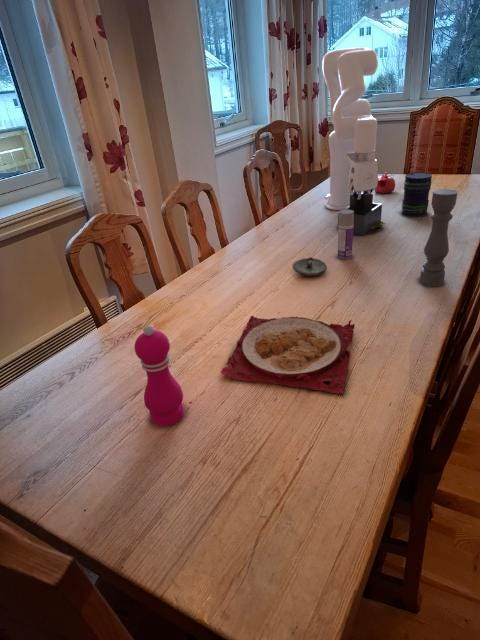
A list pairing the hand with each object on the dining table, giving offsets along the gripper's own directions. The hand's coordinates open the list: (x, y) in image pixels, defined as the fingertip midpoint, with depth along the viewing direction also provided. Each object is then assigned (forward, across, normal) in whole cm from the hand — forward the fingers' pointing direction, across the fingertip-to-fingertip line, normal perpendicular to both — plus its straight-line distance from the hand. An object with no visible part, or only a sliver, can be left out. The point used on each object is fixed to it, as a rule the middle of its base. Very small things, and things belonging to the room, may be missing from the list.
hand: (361, 208), depth 160 cm
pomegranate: (+8, +43, +32) cm, 54 cm away
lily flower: (+7, +4, -1) cm, 8 cm away
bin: (+8, 0, 0) cm, 8 cm away
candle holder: (+8, -16, -48) cm, 51 cm away
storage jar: (+8, +27, -1) cm, 28 cm away
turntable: (+8, 0, 0) cm, 8 cm away
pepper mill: (+8, -98, -58) cm, 115 cm away
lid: (+8, -38, -21) cm, 44 cm away
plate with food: (+8, -68, -55) cm, 87 cm away
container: (+8, -22, -18) cm, 30 cm away
